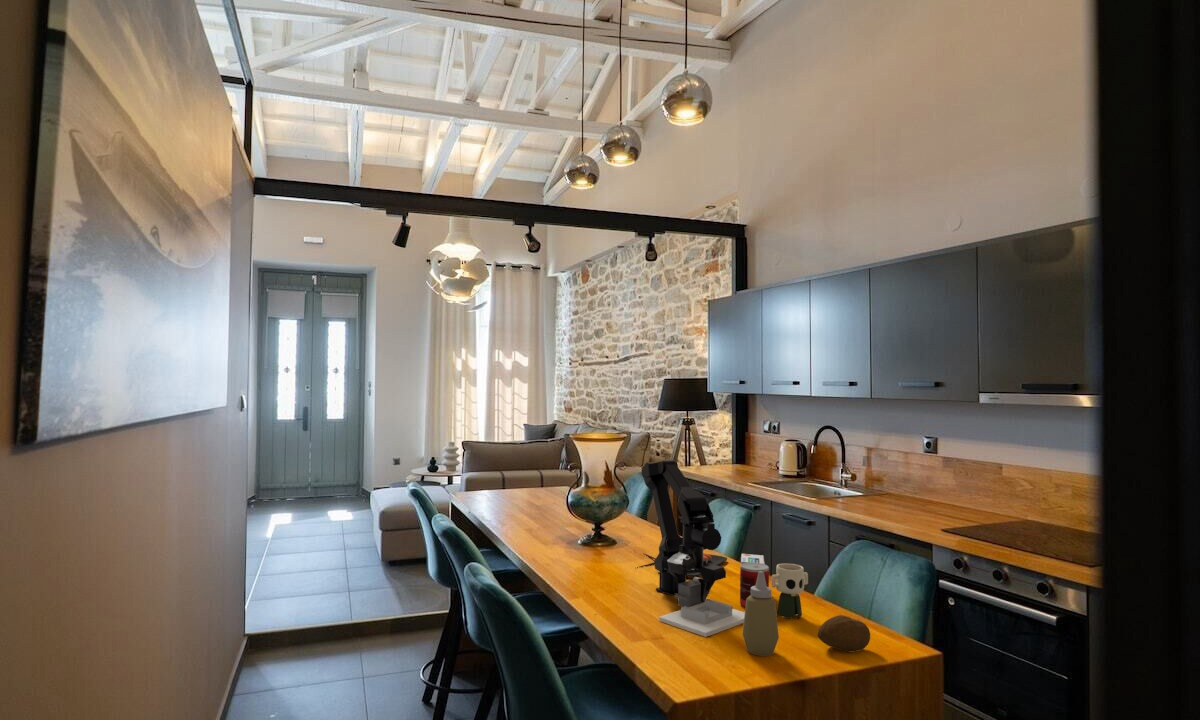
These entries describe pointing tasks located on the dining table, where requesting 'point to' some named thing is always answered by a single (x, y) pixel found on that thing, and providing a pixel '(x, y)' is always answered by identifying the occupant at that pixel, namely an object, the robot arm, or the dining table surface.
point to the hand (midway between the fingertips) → (692, 598)
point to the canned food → (750, 579)
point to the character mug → (789, 588)
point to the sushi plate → (709, 561)
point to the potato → (844, 633)
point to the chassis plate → (705, 618)
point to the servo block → (689, 593)
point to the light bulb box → (752, 558)
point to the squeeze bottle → (760, 620)
